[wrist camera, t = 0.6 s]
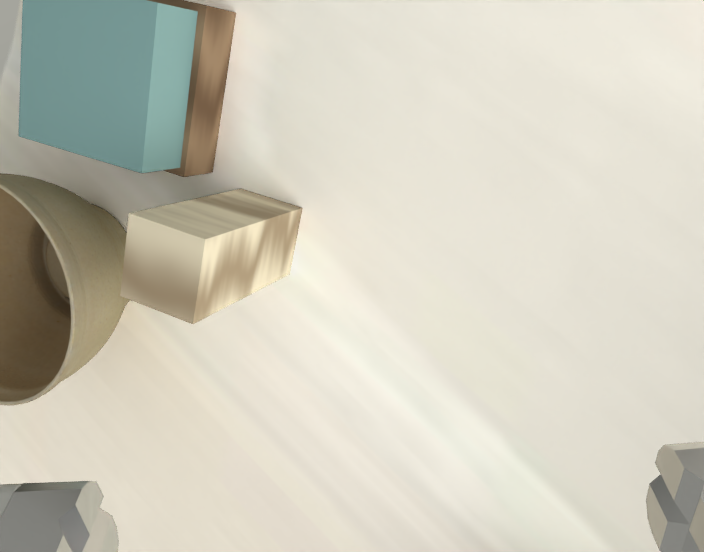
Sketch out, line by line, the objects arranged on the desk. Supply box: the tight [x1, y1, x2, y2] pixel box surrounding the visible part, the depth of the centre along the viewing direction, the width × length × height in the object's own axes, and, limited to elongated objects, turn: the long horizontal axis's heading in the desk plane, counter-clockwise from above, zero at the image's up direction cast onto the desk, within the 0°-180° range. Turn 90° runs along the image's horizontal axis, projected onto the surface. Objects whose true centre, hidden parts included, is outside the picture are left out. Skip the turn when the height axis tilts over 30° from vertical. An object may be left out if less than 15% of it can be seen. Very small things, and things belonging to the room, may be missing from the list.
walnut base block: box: [148, 0, 236, 177], centre depth 46 cm, size 11×11×4 cm
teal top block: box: [19, 0, 198, 173], centre depth 42 cm, size 10×10×4 cm
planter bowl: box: [0, 174, 130, 405], centre depth 49 cm, size 16×16×11 cm
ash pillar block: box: [120, 189, 302, 324], centre depth 42 cm, size 5×5×12 cm
